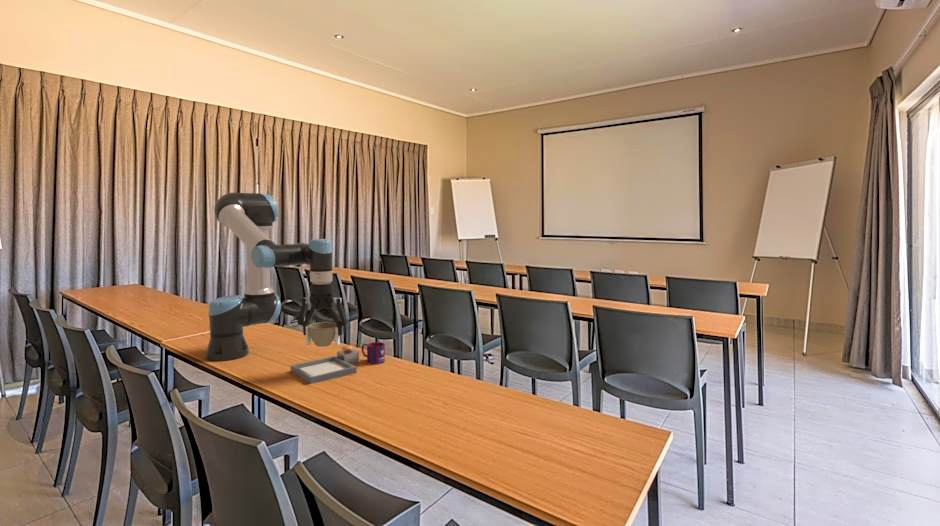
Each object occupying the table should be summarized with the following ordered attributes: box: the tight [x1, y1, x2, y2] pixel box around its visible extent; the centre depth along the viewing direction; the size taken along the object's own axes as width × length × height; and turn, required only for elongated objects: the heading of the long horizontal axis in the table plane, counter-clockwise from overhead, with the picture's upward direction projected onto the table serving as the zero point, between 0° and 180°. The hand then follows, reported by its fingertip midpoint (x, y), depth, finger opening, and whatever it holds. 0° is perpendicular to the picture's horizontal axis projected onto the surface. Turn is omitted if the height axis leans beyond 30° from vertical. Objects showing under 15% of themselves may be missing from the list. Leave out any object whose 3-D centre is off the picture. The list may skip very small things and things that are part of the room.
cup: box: [361, 341, 386, 365], centre depth 180 cm, size 7×10×7 cm
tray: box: [290, 355, 358, 385], centre depth 167 cm, size 17×17×2 cm
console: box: [336, 348, 360, 365], centre depth 178 cm, size 6×6×4 cm
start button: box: [341, 345, 354, 353], centre depth 178 cm, size 4×4×3 cm
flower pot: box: [308, 321, 337, 347], centre depth 165 cm, size 10×10×7 cm
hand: (323, 344), depth 166 cm, fingers closed on flower pot, 10 cm apart
